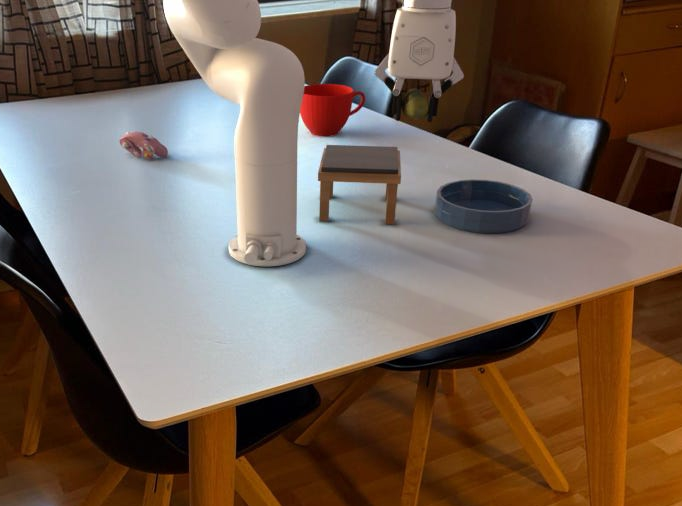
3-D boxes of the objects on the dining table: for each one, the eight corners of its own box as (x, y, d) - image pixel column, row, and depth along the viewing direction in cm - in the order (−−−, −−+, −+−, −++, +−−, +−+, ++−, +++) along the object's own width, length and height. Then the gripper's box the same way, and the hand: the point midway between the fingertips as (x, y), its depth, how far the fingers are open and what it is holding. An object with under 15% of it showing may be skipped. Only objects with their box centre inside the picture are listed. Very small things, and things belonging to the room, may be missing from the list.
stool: (396, 225, 126) (401, 170, 120) (316, 222, 127) (318, 167, 122) (395, 197, 137) (400, 146, 132) (322, 194, 139) (324, 143, 134)
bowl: (535, 236, 121) (539, 214, 119) (437, 232, 123) (440, 210, 121) (520, 201, 135) (524, 181, 133) (432, 198, 137) (434, 177, 134)
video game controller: (125, 161, 162) (112, 137, 156) (135, 147, 164) (123, 123, 158) (161, 168, 158) (150, 143, 152) (171, 153, 160) (160, 128, 154)
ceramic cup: (375, 135, 172) (378, 91, 167) (311, 143, 167) (312, 98, 162) (350, 121, 182) (352, 80, 177) (289, 129, 177) (289, 86, 172)
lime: (403, 115, 124) (406, 84, 122) (430, 118, 123) (434, 87, 120) (396, 121, 121) (399, 89, 118) (425, 124, 119) (429, 92, 117)
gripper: (371, 1, 110) (362, 122, 120) (485, 4, 108) (466, 128, 118) (373, -5, 116) (364, 112, 126) (480, -2, 114) (463, 116, 124)
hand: (413, 118), depth 122 cm, fingers closed on lime, 4 cm apart
